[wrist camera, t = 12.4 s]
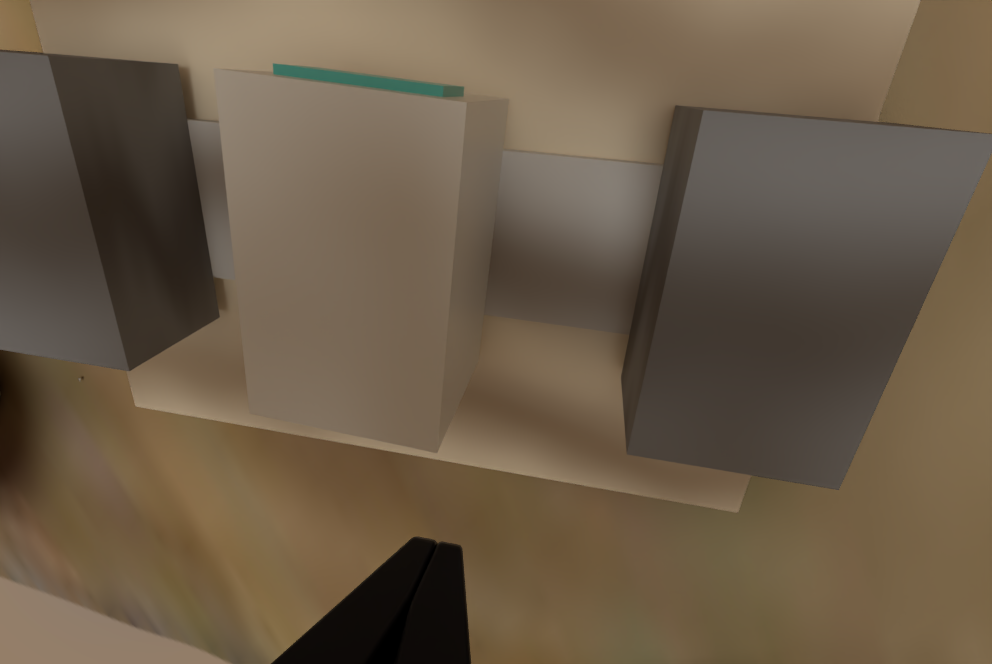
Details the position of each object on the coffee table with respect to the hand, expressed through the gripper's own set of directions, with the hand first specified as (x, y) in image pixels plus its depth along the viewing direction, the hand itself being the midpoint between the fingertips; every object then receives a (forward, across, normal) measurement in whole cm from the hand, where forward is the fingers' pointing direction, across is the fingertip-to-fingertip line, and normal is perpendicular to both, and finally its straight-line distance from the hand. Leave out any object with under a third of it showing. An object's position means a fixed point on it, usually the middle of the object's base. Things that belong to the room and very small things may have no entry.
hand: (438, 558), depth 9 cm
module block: (+9, +4, -3) cm, 10 cm away
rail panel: (+10, +4, -3) cm, 11 cm away
